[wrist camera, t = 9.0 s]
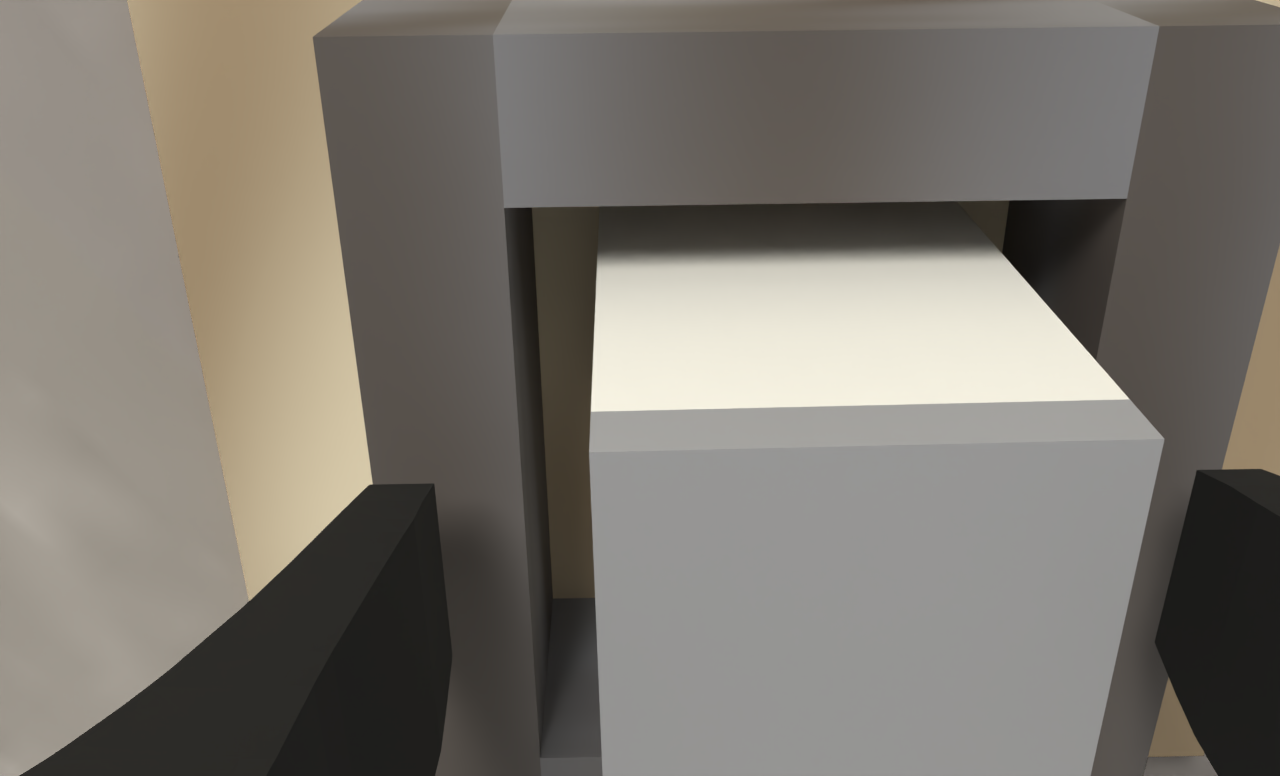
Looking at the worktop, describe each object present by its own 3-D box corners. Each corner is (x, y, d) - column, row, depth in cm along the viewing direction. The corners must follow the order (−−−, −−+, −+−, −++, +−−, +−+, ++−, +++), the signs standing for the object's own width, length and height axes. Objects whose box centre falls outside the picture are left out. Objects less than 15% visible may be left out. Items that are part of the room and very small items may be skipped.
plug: (942, 186, 13) (1164, 439, 8) (904, 543, 16) (1057, 927, 10) (600, 194, 13) (589, 451, 8) (611, 549, 15) (609, 939, 10)
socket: (1446, -203, 12) (1739, -207, 9) (1189, 731, 18) (1311, 927, 15) (108, -189, 12) (-73, -189, 9) (292, 750, 18) (222, 951, 15)
